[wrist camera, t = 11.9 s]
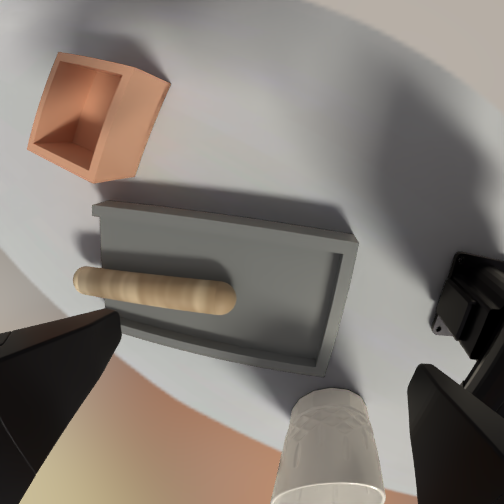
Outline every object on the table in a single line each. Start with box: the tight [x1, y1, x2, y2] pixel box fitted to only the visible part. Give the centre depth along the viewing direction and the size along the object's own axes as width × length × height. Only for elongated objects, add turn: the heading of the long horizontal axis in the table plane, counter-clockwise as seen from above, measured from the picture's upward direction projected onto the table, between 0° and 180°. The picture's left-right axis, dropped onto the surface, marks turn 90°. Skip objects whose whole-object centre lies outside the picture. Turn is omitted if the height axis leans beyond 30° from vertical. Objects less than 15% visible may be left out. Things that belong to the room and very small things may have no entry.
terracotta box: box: [27, 52, 171, 184], centre depth 18 cm, size 7×7×5 cm
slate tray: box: [92, 200, 359, 377], centre depth 21 cm, size 18×10×2 cm, turn 84°
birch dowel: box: [73, 266, 237, 315], centre depth 21 cm, size 6×2×12 cm
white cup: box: [270, 388, 386, 504], centre depth 20 cm, size 8×8×10 cm
